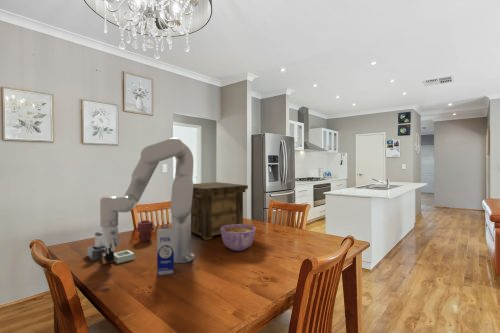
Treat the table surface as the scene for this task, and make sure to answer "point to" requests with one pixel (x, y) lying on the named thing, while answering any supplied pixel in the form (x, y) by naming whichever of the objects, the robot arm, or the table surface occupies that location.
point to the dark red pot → (145, 230)
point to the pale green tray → (123, 256)
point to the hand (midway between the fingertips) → (109, 261)
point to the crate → (216, 207)
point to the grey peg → (98, 241)
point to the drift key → (103, 257)
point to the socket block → (94, 252)
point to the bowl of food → (237, 236)
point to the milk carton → (165, 251)
